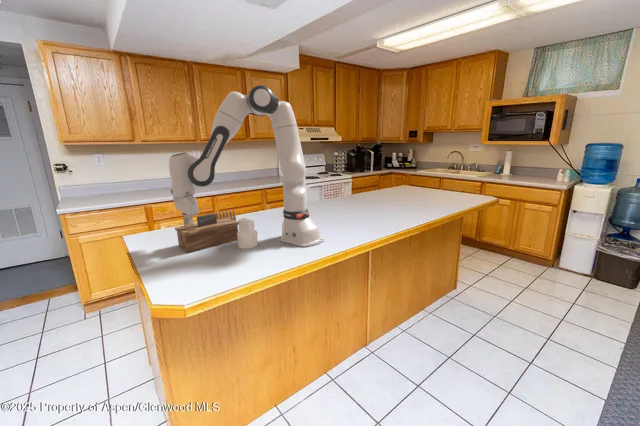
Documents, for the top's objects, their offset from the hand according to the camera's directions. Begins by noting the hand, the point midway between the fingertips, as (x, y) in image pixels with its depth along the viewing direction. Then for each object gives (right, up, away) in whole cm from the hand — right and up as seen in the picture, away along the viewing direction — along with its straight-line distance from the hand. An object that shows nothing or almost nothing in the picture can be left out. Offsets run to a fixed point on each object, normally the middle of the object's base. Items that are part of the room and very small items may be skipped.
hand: (188, 221), depth 131 cm
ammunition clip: (+9, -6, +26) cm, 28 cm away
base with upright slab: (+25, -11, +6) cm, 28 cm away
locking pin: (0, -6, +2) cm, 7 cm away
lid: (+6, -3, +7) cm, 9 cm away
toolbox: (+6, -10, +9) cm, 15 cm away
